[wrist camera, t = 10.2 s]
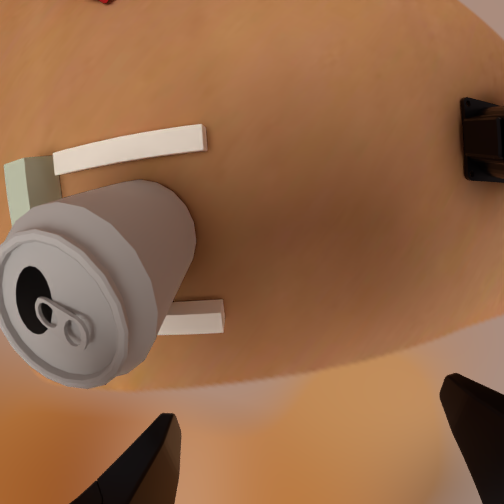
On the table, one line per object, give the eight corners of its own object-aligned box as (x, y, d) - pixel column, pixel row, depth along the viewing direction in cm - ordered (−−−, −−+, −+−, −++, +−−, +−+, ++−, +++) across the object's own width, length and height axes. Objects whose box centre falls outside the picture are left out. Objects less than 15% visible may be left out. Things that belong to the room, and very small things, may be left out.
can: (111, 163, 18) (-20, 182, 7) (214, 201, 19) (173, 264, 8) (86, 263, 20) (-18, 351, 9) (178, 301, 21) (127, 430, 10)
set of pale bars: (205, 127, 18) (196, 119, 14) (225, 317, 22) (221, 349, 18) (37, 160, 18) (3, 164, 14) (70, 321, 22) (47, 346, 18)
